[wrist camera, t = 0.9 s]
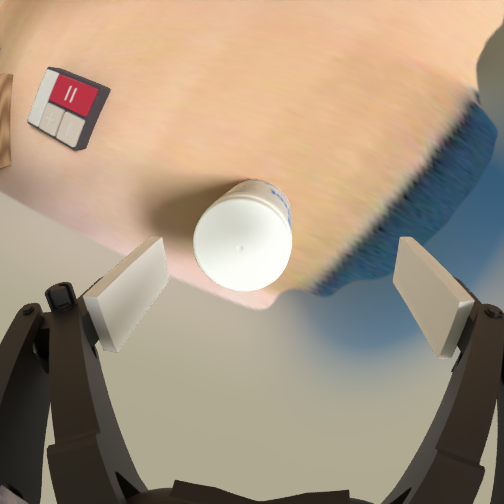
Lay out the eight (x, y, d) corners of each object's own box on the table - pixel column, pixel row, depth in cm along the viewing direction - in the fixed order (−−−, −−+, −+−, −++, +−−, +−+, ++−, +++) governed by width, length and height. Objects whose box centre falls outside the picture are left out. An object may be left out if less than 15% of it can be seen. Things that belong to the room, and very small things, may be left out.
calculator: (73, 152, 35) (23, 123, 33) (88, 149, 39) (38, 121, 37) (100, 87, 31) (45, 65, 29) (114, 89, 35) (59, 68, 33)
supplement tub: (303, 220, 39) (313, 263, 26) (249, 255, 42) (232, 310, 29) (263, 163, 37) (251, 176, 23) (209, 203, 40) (171, 236, 26)
